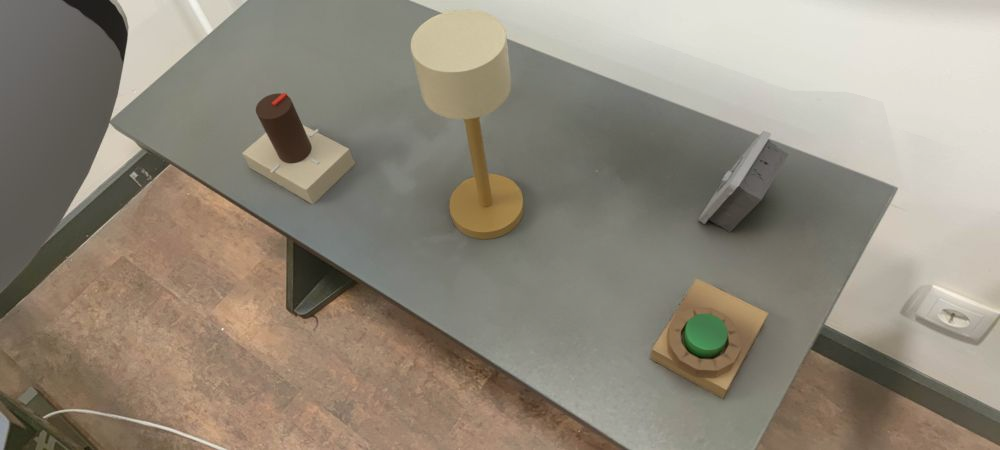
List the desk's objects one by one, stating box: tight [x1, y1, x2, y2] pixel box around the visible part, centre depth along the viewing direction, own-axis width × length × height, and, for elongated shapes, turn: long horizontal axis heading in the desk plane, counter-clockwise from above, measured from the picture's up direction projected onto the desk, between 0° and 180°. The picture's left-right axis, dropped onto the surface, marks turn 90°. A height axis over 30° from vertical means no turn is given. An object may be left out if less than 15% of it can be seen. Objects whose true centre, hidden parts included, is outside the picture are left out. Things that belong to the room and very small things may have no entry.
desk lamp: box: [410, 9, 525, 240], centre depth 75 cm, size 9×9×26 cm
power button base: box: [650, 278, 769, 399], centre depth 71 cm, size 10×8×4 cm
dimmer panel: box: [241, 124, 356, 205], centre depth 92 cm, size 9×12×3 cm
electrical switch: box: [698, 130, 789, 233], centre depth 79 cm, size 9×5×9 cm, turn 145°
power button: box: [684, 314, 728, 358], centre depth 68 cm, size 4×4×2 cm
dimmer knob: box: [255, 92, 312, 163], centre depth 87 cm, size 4×4×8 cm
